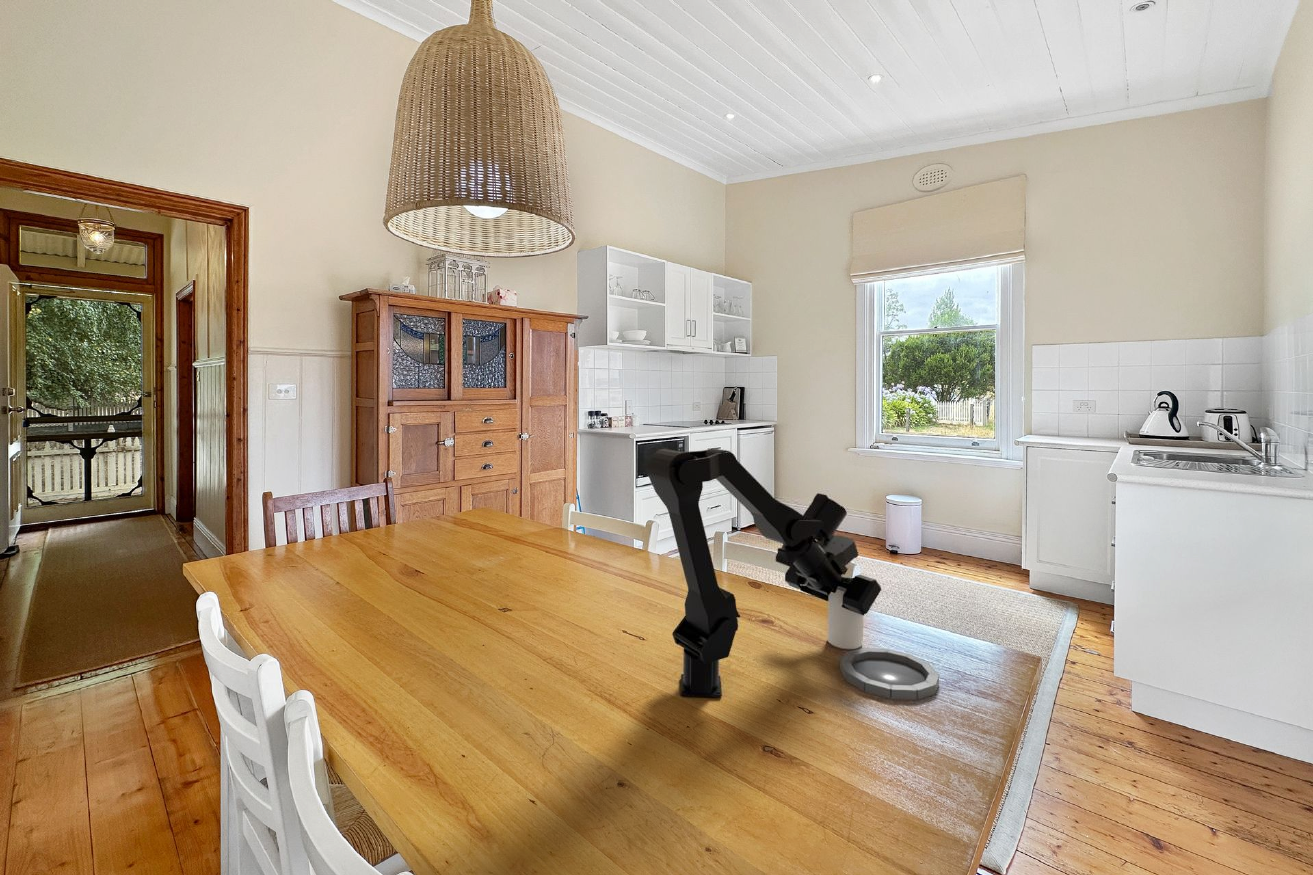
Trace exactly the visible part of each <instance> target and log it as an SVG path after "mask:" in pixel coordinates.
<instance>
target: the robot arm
mask: <svg viewBox="0 0 1313 875" xmlns="http://www.w3.org/2000/svg"><path fill="white" fill-rule="evenodd" d="M646 473H647V476H648V478H649V481H650V483H651V485H652V487H653V489H654V492H655V493H656V495H657V496H658V498H659V499H660V500H661V502H662V503H663V505H665V507H666V509H667V511H668V514H669V515H668V516H669V519H670V522H671V523H670V524H671V527H672V531H673V535H674V538H675V542H676V546H677V547H676V548H677V550H678V554H679V558H680V559H679V560H680V562H681V565H682V569H683V573H684V574H683V575H684V578H685V582H686V585H687V595H686V598H685V601H684V612H685V614H684V617H683V618H682V619H681V620H680V622H679V623H678V625H677V626H676V627H675V629H673V632H672V634H671V635H672V637H673V641H674V643H675V644H676V645H677V646H679V647H681V648H683V651H682V652H683V659H682V660H683V662H682V664H683V667H682V668H683V669H682V670H683V673H681V675H680V691H679V692H680V696H681V697H698V698H699V697H700V698H701V697H702V698H722V697H723V693H722V681H721V679H722V678H721V675H720V660H723V659H728V658H729V656H730V652H731V649H732V646H733V643H734V639H735V636H736V632H737V631H738V630H739V621H738V620H739V619H740V618H741V615H740V613H739V611H738V609H737V602H736V597H735V594H734V593H732V592H730V591H728V590H725V589H723V588H722V587H720V586H719V584H718V583H719V582H718V579H717V575H716V571H715V567H714V563H713V558H712V553H711V550H710V546H709V542H708V538H707V534H706V531H705V525H704V523H703V522H704V521H703V518H702V512H701V510H700V504H699V502H700V499H701V496H702V492H703V488H704V484H703V483H705V482H710V481H713V480H715V479H716V480H717V481H718V483H720V484H721V485H722V486H723V487H724V489H726V490H727V492H729V493H730V494H731V495H732V496H733V497H734V498H735V499H736V500H737V501H738V503H740V504H741V505H742V506H743V507H744V508H745V509H746V511H748V512H749V513H750V514H751V516H752V517H753V523H754V525H755V526H756V528H757V529H758V531H759V532H760V534H761V535H762V537H764V538H765V539H767V540H771V541H773V542H776V543H779V544H782V545H781V547H778V548H777V553H776V555H775V562H776V563H779V564H781V565H785V566H786V567H788V569H787V570H786V572H785V573H784V581H785V582H786V583H787V585H788V586H790V587H792V588H795V589H797V590H800V591H801V592H802V593H806V594H808V595H811V596H813V597H815V598H818V599H821V600H823V601H825V602H828V596H829V595H830V593H836V591H837V589H838V590H841V591H844V595H843V604H842V606H841V607H842V608H845V609H847V610H850V611H852V612H855V613H858V614H860V615H863V616H865V615H866V614H868V612H869V611H870V609H871V607H872V606H873V604H874V602H875V601H876V599H877V597H878V596H879V595H880V593H881V591H882V586H881V585H880V583H879V582H878V581H877V580H876V579H874V578H872V577H868V576H865V575H862V574H858V575H855V576H854V577H851V578H852V579H848V578H845V577H846V576H845V575H846V574H847V572H848V570H849V568H848V567H847V565H849V564H850V563H851V562H852V561H853V560H855V559H857V558H858V557H859V551H858V548H857V544H856V542H855V540H854V539H853V538H851V537H847V536H843V535H835V532H836V531H837V530H838V528H839V527H840V526H841V524H842V522H843V520H844V519H845V518H846V516H847V515H848V513H847V510H846V508H845V507H844V506H842V505H840V504H839V503H838V502H837V501H835V500H833V499H831V498H829V497H828V495H827V494H824V493H820V492H818V493H816V494H815V496H814V497H813V499H812V501H811V503H810V504H809V506H808V508H807V509H806V510H805V512H804V513H803V514H801V513H800V512H798V511H797V510H796V509H794V508H793V507H791V506H789V505H787V504H785V503H783V502H781V501H779V500H778V499H776V498H775V497H774V496H773V495H772V494H771V493H770V492H769V491H767V489H766V488H765V487H764V486H763V485H762V484H761V483H760V482H759V480H757V479H756V478H755V477H754V475H752V474H751V473H750V472H749V471H748V470H747V469H746V467H744V466H743V465H742V463H740V462H739V461H738V459H737V457H736V455H735V454H734V453H733V452H731V451H730V450H726V449H725V450H724V449H721V448H720V449H719V448H709V449H704V450H695V451H694V450H693V451H678V450H674V449H673V450H672V449H667V448H663V449H662V448H661V449H659V450H658V449H657V451H655V452H654V453H653V454H652V455H651V456H650V459H649V461H647V463H646ZM843 575H844V576H843Z"/></svg>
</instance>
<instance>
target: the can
mask: <svg viewBox="0 0 1313 875" xmlns="http://www.w3.org/2000/svg"><path fill="white" fill-rule="evenodd" d="M844 577H845V578H848V579H852V578H853V577H848V576H844ZM843 595H844V591H841V590H838V589H837V591H836V593H830V595H829V596H828V601H827V634H826V635H827V636H826V637H827V639H826V640H827V641H828V643H829V645H830V646H833V647H835V648H838V649H840V650H848V651H853V650H857V649H861V647H862V645H863V644H864V643H863V642H864V624H865V621H864V619H865V618H864V616H865V615H864V616H863V615H860V614H858V613H855V612H852V611H850V610H847V609H845V608H842V607H841V606H842V604H843Z"/></svg>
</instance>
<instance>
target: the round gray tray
mask: <svg viewBox="0 0 1313 875" xmlns="http://www.w3.org/2000/svg"><path fill="white" fill-rule="evenodd" d="M839 662H840V664H839V667H840V668H839V670H840V672H841V674H842V676H843V678H844V680H845V681H846V682H847V683H849V684H850V685H852V686H854V687H855V688H856V689H859V690H860V691H861V692H865V693H867V694H870V695H873V696H878V697H881V698H885V699H888V700H890V699H891V700H894V701H895V700H899V701H900V700H901V701H902V700H903V701H919V700H922V699H926V698H929V697H931V696H935V695H936V693H937V691H938V689H939V685H940V674H939V673H938V672H937V670H936V669H935V668H934V667H933V666H932V664H931V663H929V662H927V661H925V660H924V659H922V658H919V657H917V656H915V655H913V654H911V653H908V652H903V651H898V650H895V649H889V648H886V647H885V648H882V647H881V648H879V647H878V648H877V647H862V648H861V647H860V648H858V649H854V650H848V651H847V652H846V653H845V654H844V655H843V656H842V657H841V659H840V661H839Z"/></svg>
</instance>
